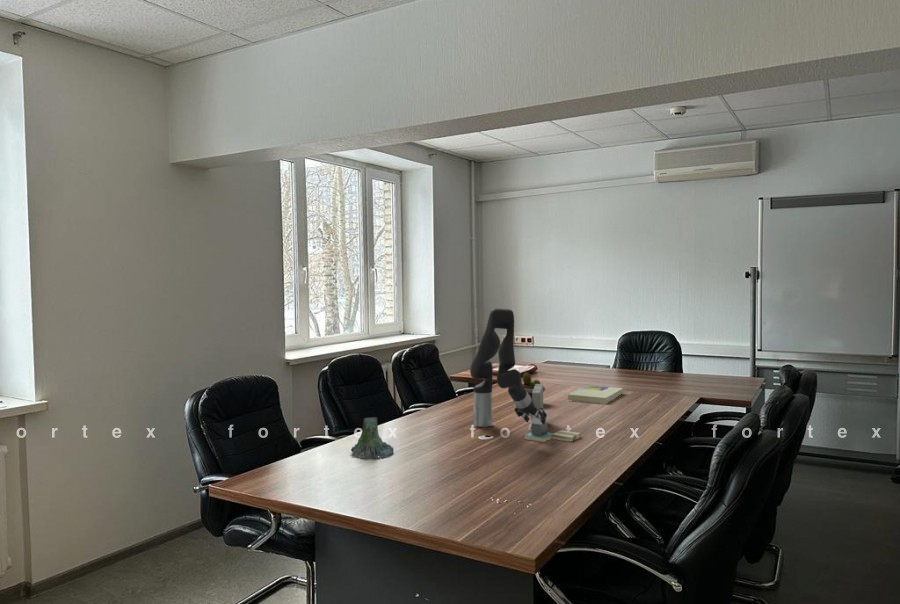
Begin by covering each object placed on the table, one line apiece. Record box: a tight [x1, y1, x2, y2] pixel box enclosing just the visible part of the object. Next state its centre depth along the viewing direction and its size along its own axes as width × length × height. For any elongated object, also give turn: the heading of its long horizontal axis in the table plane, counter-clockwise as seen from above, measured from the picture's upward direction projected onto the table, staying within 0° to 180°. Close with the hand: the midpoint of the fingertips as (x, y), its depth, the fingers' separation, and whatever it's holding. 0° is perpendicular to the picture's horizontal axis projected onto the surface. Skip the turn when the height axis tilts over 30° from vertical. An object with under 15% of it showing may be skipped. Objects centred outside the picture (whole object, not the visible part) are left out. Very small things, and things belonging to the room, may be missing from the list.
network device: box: [527, 383, 544, 432], centre depth 320 cm, size 26×9×20 cm, turn 168°
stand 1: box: [524, 431, 555, 443], centre depth 298 cm, size 10×10×2 cm
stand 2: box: [550, 430, 582, 443], centre depth 298 cm, size 10×10×2 cm
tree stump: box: [350, 416, 394, 460], centre depth 280 cm, size 18×20×18 cm
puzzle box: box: [567, 385, 624, 405], centre depth 394 cm, size 36×5×24 cm
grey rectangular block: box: [530, 409, 548, 436], centre depth 298 cm, size 6×5×11 cm
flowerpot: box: [521, 370, 546, 399], centre depth 376 cm, size 14×15×20 cm
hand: (536, 421), depth 295 cm, fingers open, 8 cm apart
